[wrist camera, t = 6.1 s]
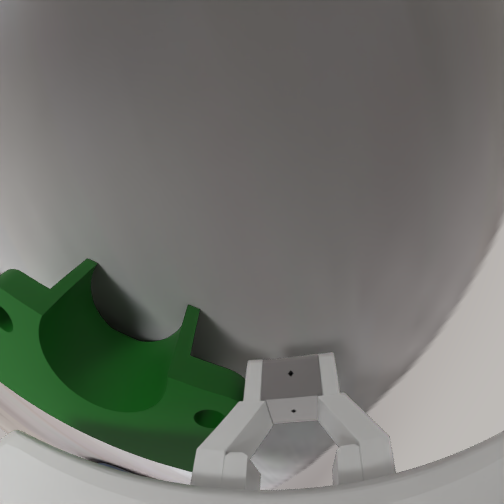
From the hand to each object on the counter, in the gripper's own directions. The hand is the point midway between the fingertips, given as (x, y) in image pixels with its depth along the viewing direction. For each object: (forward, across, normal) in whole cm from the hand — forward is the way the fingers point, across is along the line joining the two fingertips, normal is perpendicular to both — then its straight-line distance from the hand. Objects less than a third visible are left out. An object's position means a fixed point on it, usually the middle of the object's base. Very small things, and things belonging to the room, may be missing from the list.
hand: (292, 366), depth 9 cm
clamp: (+3, +8, 0) cm, 8 cm away
